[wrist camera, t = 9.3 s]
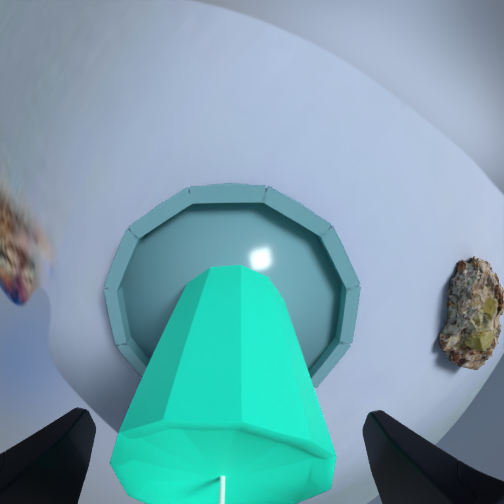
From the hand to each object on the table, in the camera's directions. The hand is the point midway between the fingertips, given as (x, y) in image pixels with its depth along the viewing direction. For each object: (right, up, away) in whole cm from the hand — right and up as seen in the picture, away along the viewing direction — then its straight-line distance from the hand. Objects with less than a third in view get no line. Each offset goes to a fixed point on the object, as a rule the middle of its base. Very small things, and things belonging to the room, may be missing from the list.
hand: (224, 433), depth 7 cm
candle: (0, +2, +8) cm, 9 cm away
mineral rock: (+19, +1, +11) cm, 22 cm away
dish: (0, +2, +9) cm, 10 cm away
